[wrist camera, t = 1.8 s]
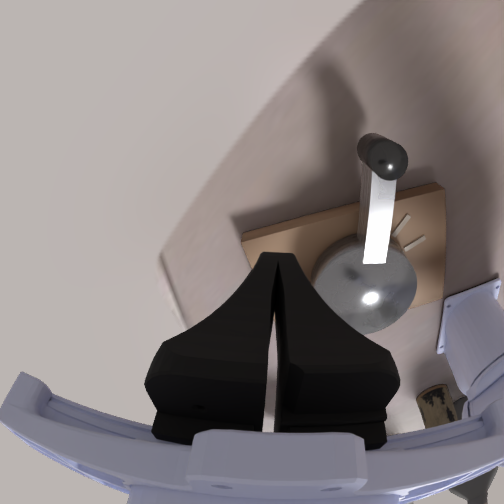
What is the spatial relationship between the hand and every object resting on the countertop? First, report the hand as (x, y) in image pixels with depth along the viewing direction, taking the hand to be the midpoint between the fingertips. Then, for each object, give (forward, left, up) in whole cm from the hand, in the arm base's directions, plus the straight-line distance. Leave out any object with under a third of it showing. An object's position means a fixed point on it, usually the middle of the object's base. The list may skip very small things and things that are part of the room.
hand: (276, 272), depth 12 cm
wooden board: (-8, -4, -10) cm, 14 cm away
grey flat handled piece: (-4, -5, -8) cm, 11 cm away
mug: (-38, -14, -10) cm, 42 cm away
